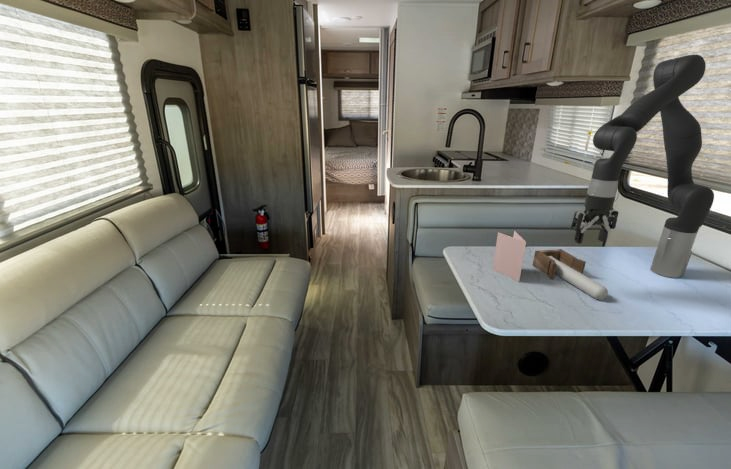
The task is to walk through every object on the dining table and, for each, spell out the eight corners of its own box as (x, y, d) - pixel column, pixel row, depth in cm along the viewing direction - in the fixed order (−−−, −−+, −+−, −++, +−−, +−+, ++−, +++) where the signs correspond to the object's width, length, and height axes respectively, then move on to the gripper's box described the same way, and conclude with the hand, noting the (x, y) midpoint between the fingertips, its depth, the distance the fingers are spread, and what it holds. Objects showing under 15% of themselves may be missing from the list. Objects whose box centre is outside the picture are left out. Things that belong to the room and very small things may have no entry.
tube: (615, 289, 112) (556, 257, 135) (603, 287, 110) (545, 254, 133) (606, 304, 114) (549, 269, 136) (595, 301, 112) (539, 267, 134)
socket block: (560, 263, 139) (563, 248, 137) (583, 277, 128) (586, 262, 126) (530, 265, 137) (532, 251, 135) (550, 280, 126) (553, 264, 124)
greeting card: (521, 282, 124) (529, 242, 119) (500, 281, 125) (506, 241, 119) (510, 267, 135) (516, 230, 130) (490, 267, 135) (496, 230, 130)
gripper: (611, 189, 115) (599, 236, 121) (572, 191, 113) (562, 239, 118) (631, 195, 108) (618, 244, 114) (590, 197, 106) (578, 247, 111)
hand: (589, 241), depth 116 cm, fingers open, 8 cm apart
